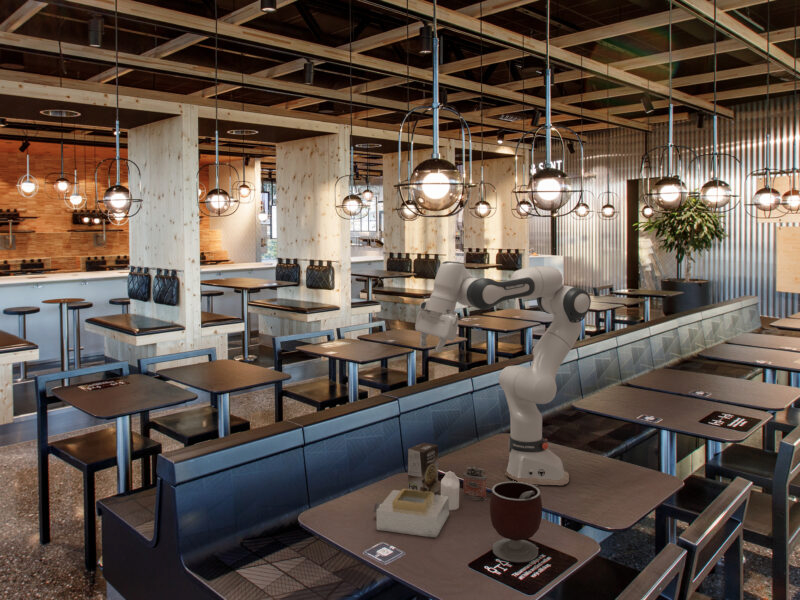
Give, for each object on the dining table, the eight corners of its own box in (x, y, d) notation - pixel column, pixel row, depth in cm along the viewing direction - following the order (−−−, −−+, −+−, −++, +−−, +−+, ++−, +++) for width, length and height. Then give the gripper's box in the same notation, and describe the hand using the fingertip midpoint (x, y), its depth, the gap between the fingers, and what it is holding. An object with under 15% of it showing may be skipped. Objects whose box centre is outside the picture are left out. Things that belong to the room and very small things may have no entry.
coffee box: (423, 500, 209) (423, 452, 208) (407, 495, 213) (407, 448, 212) (438, 491, 216) (438, 445, 215) (423, 487, 220) (423, 441, 219)
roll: (455, 466, 206) (462, 472, 201) (455, 502, 207) (462, 509, 202) (438, 468, 205) (444, 474, 199) (438, 504, 206) (444, 511, 200)
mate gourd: (480, 544, 179) (480, 474, 177) (523, 535, 184) (524, 468, 182) (508, 570, 164) (509, 495, 162) (555, 561, 169) (556, 487, 167)
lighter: (461, 496, 212) (461, 467, 211) (465, 493, 215) (465, 464, 214) (484, 501, 208) (484, 471, 207) (487, 497, 211) (488, 468, 210)
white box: (448, 514, 198) (448, 489, 197) (436, 537, 183) (436, 510, 182) (384, 507, 204) (384, 482, 203) (367, 528, 189) (366, 502, 188)
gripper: (466, 314, 203) (455, 357, 202) (432, 307, 220) (422, 346, 220) (450, 309, 199) (439, 352, 199) (417, 302, 217) (406, 342, 217)
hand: (429, 349), depth 210 cm, fingers open, 8 cm apart
